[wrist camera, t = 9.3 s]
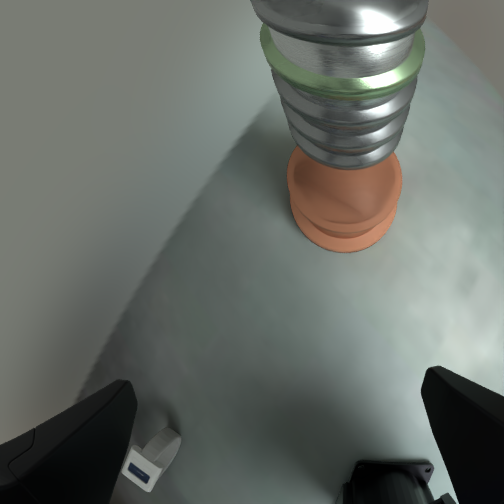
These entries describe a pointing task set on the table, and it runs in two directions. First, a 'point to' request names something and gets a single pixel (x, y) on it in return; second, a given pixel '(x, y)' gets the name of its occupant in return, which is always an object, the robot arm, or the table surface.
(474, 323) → the table surface
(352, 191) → the housing
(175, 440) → the wristwatch
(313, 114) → the grey ribbed cylinder
